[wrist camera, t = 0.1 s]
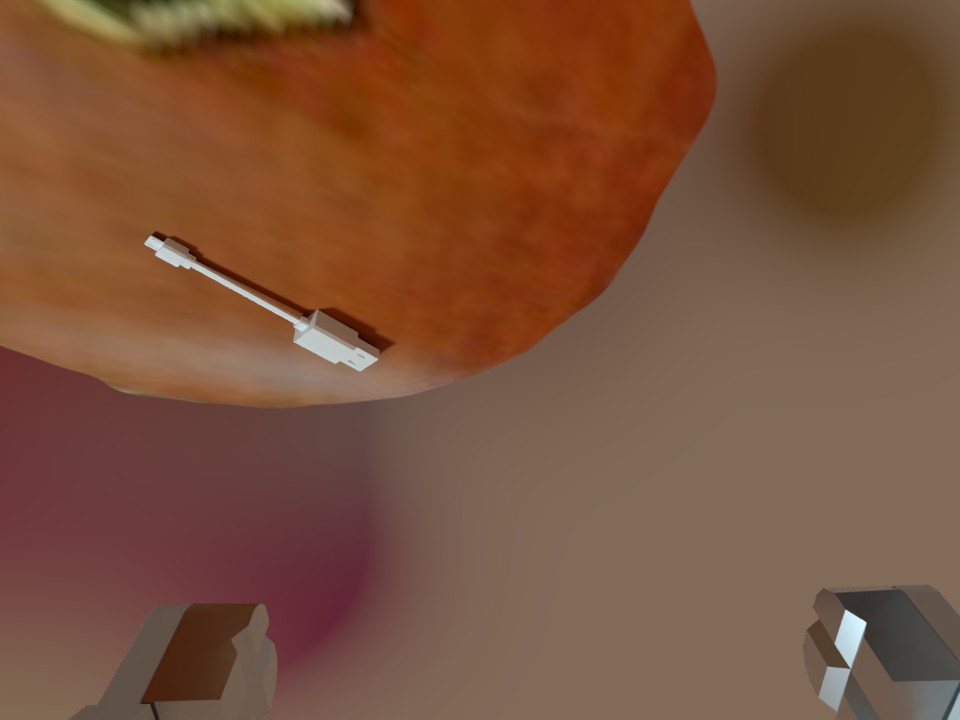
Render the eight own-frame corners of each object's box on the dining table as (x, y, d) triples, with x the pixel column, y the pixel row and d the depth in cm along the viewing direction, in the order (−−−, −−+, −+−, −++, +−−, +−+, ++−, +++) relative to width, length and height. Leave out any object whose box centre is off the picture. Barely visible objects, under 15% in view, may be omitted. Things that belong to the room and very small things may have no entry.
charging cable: (162, 217, 76) (153, 237, 74) (382, 344, 94) (379, 363, 92) (143, 240, 78) (134, 260, 76) (360, 358, 97) (357, 377, 95)
